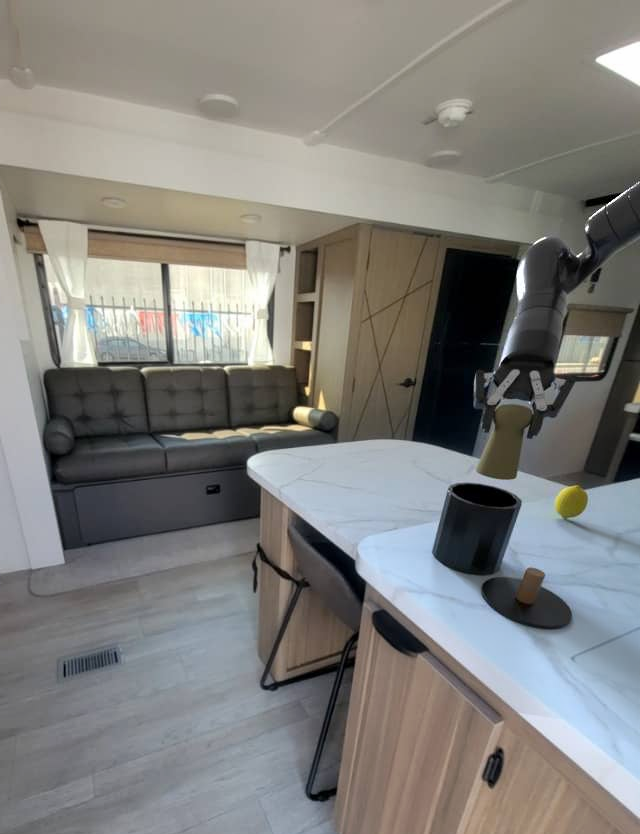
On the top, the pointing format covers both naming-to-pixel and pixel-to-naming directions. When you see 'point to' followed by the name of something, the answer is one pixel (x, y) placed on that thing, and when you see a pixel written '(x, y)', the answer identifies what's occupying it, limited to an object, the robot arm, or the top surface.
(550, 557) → the top surface
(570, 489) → the lemon
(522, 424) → the cork
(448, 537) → the canister
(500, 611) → the lid
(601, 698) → the top surface
